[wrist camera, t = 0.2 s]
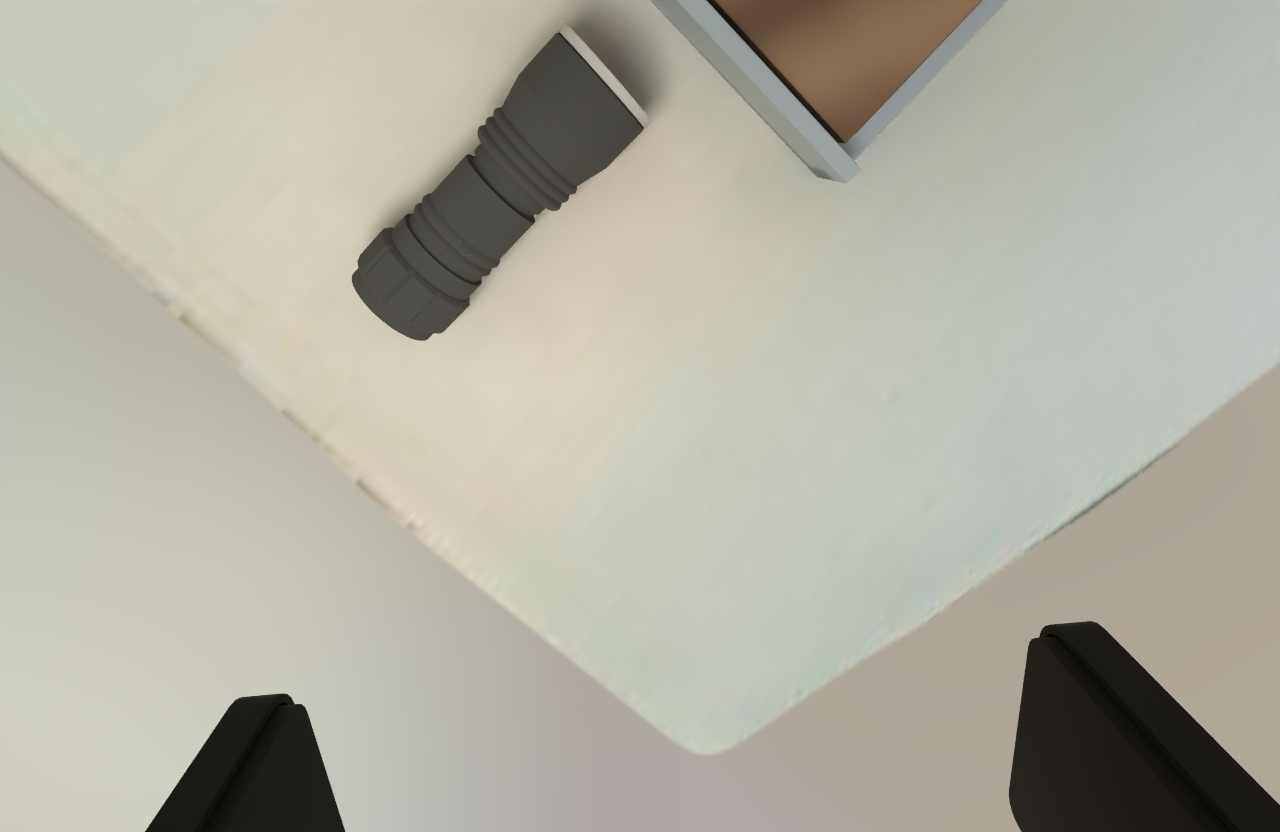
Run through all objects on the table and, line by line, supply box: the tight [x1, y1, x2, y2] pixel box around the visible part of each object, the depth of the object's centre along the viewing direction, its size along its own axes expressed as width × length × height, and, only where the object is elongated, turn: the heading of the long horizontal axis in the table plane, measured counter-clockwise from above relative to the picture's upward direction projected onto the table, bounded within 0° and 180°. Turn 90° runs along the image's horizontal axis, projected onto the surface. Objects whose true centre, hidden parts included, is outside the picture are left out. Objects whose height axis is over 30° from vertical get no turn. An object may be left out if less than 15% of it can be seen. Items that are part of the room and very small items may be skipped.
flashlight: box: [352, 23, 651, 340], centre depth 34 cm, size 15×5×5 cm, turn 134°
